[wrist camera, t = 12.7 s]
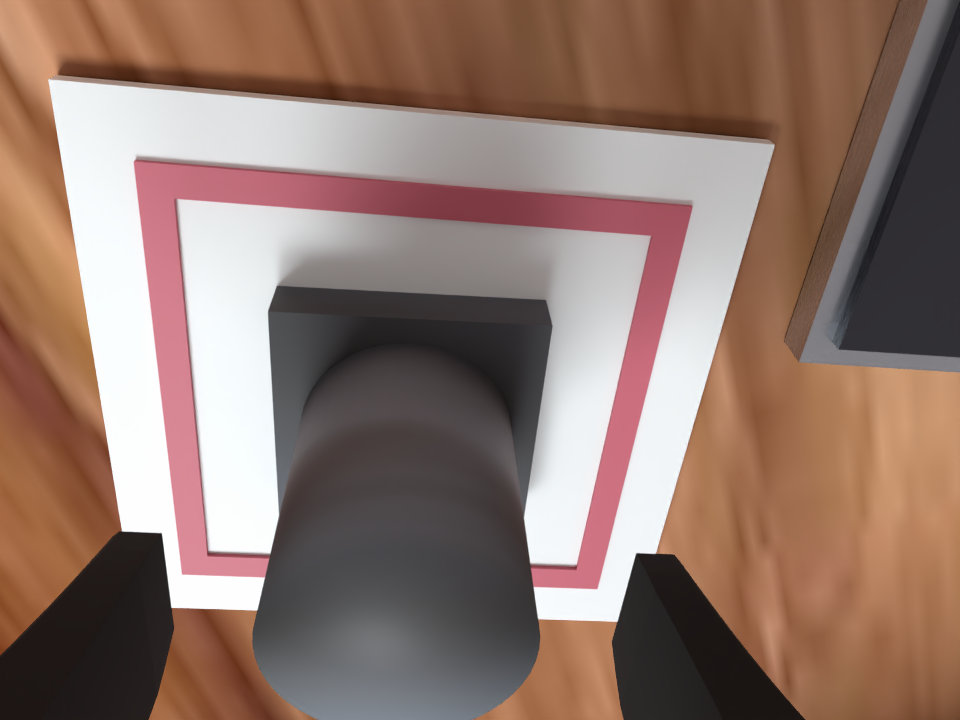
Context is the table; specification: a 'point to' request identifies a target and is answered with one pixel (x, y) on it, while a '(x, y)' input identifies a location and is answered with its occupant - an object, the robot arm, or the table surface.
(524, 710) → the table surface
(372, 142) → the marked sheet
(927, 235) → the ink pad
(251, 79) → the table surface
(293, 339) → the stamp
